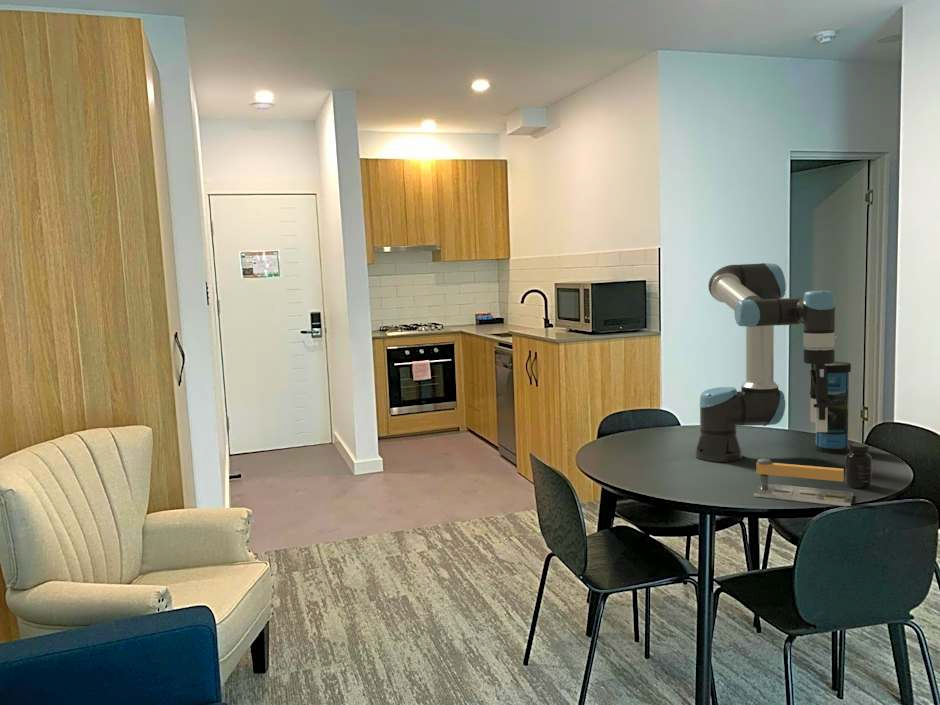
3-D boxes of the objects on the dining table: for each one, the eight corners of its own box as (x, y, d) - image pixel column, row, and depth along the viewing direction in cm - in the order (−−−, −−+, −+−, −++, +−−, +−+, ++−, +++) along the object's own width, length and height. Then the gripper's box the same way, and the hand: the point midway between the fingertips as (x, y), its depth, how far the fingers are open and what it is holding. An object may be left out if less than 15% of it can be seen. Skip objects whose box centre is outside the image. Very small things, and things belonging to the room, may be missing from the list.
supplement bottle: (840, 483, 214) (840, 442, 213) (862, 481, 215) (863, 441, 214) (854, 490, 207) (854, 448, 206) (877, 488, 208) (878, 446, 207)
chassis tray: (753, 496, 205) (753, 478, 205) (760, 486, 215) (760, 469, 214) (850, 506, 193) (850, 488, 193) (852, 495, 203) (852, 477, 202)
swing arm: (755, 474, 208) (755, 461, 208) (758, 471, 211) (758, 458, 211) (842, 482, 197) (843, 468, 196) (843, 478, 200) (844, 465, 200)
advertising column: (839, 445, 259) (839, 360, 256) (856, 453, 248) (857, 364, 245) (807, 446, 259) (807, 362, 256) (823, 454, 247) (824, 366, 244)
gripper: (840, 353, 184) (840, 436, 186) (829, 344, 207) (828, 418, 209) (807, 353, 186) (807, 435, 188) (799, 344, 210) (799, 418, 211)
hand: (818, 427), depth 199 cm, fingers open, 13 cm apart
